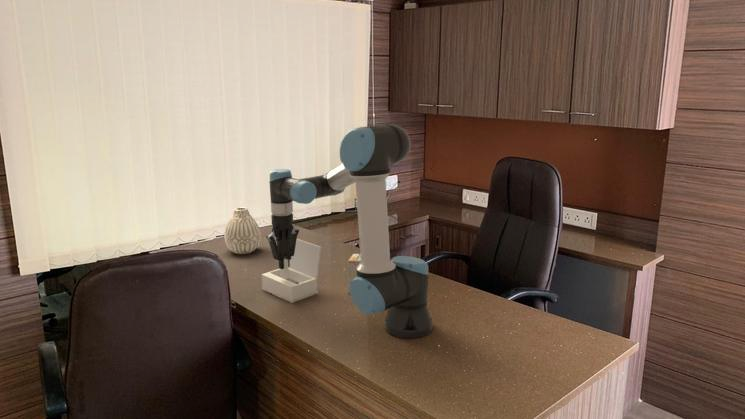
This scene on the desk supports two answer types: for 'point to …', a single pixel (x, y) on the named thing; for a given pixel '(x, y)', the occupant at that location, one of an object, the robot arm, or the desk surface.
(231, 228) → the vase
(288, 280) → the plug block
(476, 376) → the desk surface
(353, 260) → the supplement box
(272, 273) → the open white tray
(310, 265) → the cover
